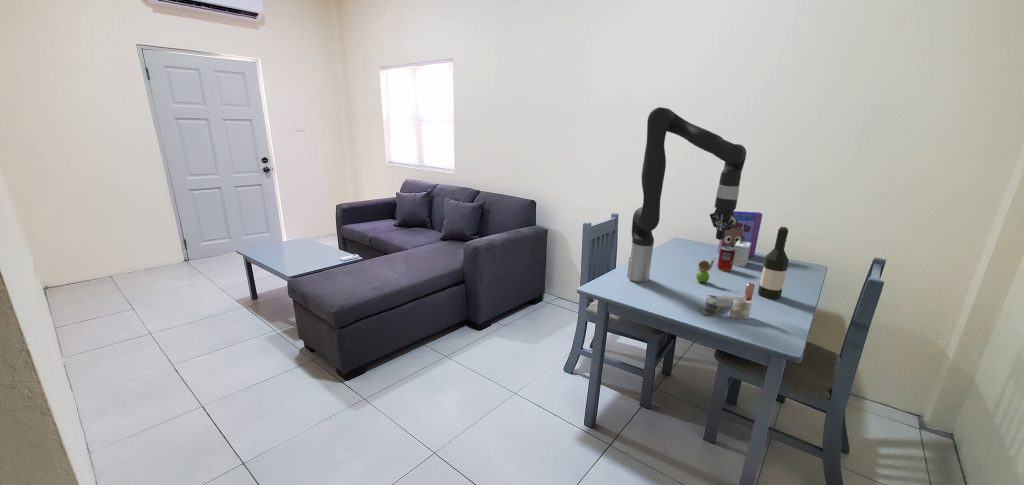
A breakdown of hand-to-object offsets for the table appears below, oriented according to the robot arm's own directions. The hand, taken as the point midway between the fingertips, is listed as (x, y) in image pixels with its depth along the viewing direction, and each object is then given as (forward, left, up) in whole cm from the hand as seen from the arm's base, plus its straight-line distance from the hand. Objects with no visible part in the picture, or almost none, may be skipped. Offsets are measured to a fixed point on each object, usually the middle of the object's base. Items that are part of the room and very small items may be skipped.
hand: (719, 239), depth 165 cm
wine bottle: (+26, +4, -25) cm, 36 cm away
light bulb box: (+32, +46, -25) cm, 61 cm away
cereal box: (+37, +62, -25) cm, 76 cm away
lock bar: (0, -16, -21) cm, 27 cm away
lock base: (-1, -12, -25) cm, 28 cm away
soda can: (+20, +35, -25) cm, 48 cm away
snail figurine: (+3, +16, -25) cm, 30 cm away
